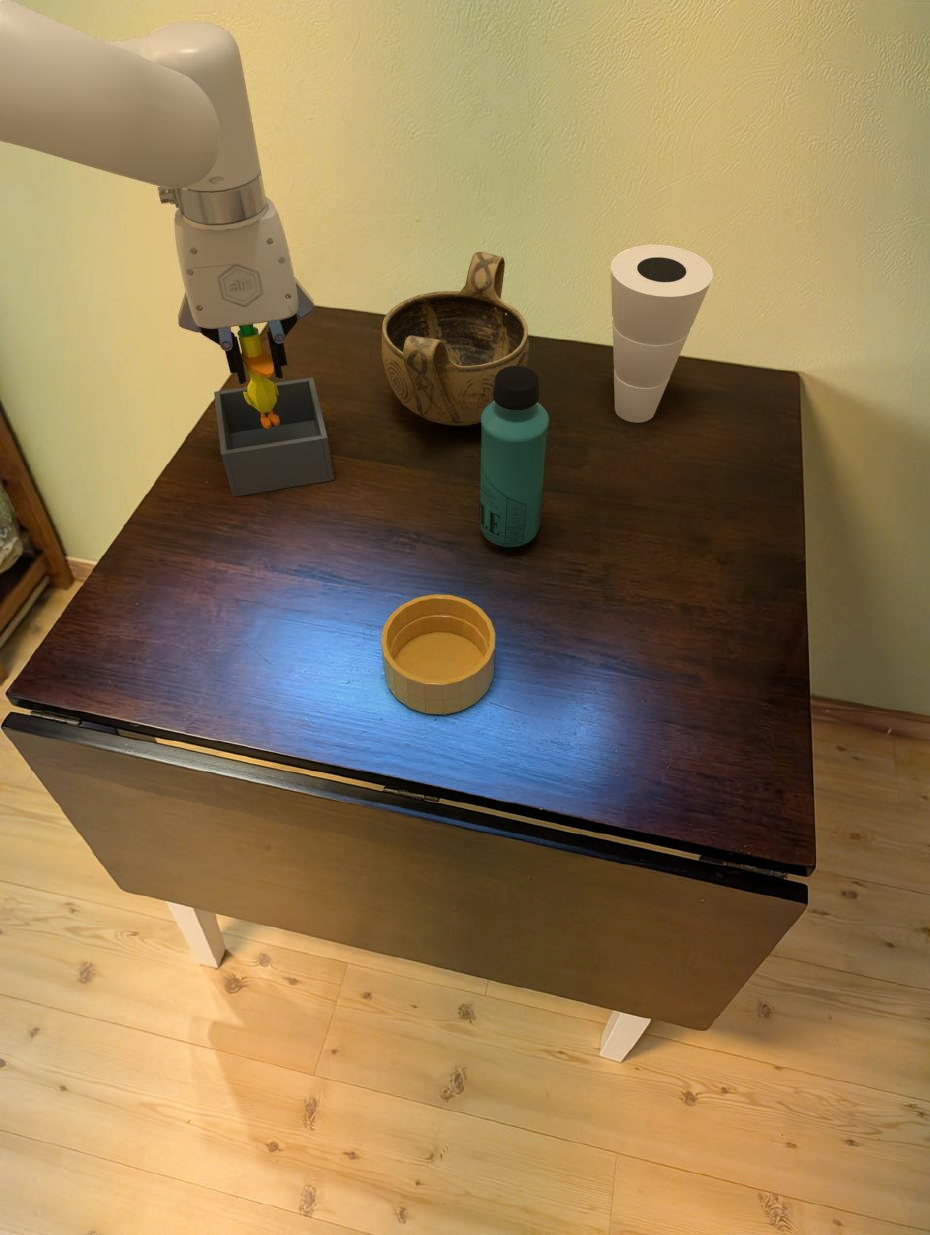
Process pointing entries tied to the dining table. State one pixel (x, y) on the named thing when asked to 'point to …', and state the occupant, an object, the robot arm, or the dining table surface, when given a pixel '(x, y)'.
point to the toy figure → (258, 375)
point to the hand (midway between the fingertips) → (259, 372)
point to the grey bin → (273, 440)
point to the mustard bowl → (438, 653)
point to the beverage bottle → (512, 459)
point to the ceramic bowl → (454, 346)
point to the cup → (652, 321)
